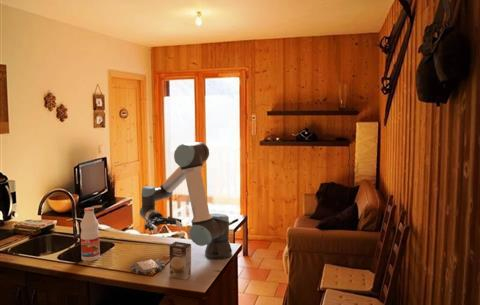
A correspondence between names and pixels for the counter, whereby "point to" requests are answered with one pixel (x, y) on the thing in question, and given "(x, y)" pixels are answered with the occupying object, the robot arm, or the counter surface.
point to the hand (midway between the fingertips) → (169, 228)
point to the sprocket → (147, 266)
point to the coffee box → (180, 260)
